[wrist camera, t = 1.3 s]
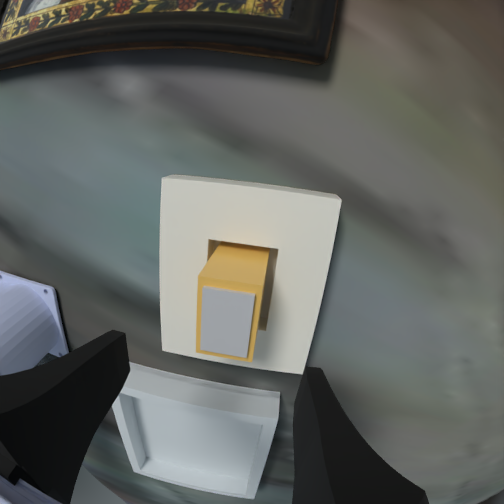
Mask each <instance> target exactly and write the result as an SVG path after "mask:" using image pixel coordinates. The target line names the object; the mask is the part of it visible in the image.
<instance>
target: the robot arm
mask: <svg viewBox="0 0 504 504" xmlns="http://www.w3.org/2000/svg"><path fill="white" fill-rule="evenodd" d="M47 353H50V354H53V355H55V356H57V357H59V358H57V359H55V360H53V361H50V362H48V363H45V364H43V365H40V366H37V367H35V366H36V365H37V364H38V363H39V362H40V361H41V359H42V358H43V357H44V356H45V355H46V354H47ZM129 373H130V363H129V357H128V350H127V343H126V335H125V333H123V332H119V331H115V330H111V331H109V332H107V333H105V334H103V335H101V336H100V337H98V338H96V339H94V340H92V341H90V342H89V343H87V344H85V345H83V346H81V347H79V348H77V349H76V350H74V351H72V352H70V353H69V351H68V347H67V343H66V339H65V335H64V330H63V326H62V321H61V317H60V312H59V307H58V302H57V296H56V291H55V289H54V288H53V287H51V286H48V285H45V284H41V283H38V282H34V281H31V280H28V279H25V278H21V277H18V276H15V275H12V274H9V273H6V272H3V271H0V504H70V502H71V498H72V494H73V490H74V486H75V482H76V479H77V476H78V473H79V470H80V467H81V465H82V462H83V460H84V457H85V454H86V452H87V449H88V447H89V445H90V443H91V441H92V438H93V436H94V434H95V432H96V430H97V428H98V427H99V425H100V423H101V422H102V420H103V419H104V417H105V415H106V414H107V412H108V411H109V409H110V408H111V406H112V404H113V403H114V401H115V400H116V398H117V397H118V395H119V393H120V392H121V390H122V388H123V386H124V384H125V382H126V380H127V377H128V375H129ZM293 440H294V466H295V478H294V490H293V500H292V504H429V502H428V498H427V496H426V493H425V491H424V490H423V489H421V488H420V487H418V486H417V485H415V484H414V483H412V482H410V481H409V480H407V479H406V478H405V477H403V476H402V475H401V474H399V473H398V472H397V471H396V470H394V469H393V468H392V467H391V466H390V465H388V464H387V463H386V462H385V461H384V460H383V459H382V458H381V457H380V456H379V455H378V454H377V453H376V452H375V451H374V450H373V449H372V448H371V447H370V446H369V445H368V443H367V442H366V441H365V440H364V439H363V437H362V436H361V435H360V434H359V432H358V431H357V430H356V428H355V427H354V426H353V424H352V423H351V421H350V420H349V418H348V417H347V415H346V414H345V412H344V410H343V409H342V407H341V405H340V404H339V402H338V400H337V398H336V397H335V395H334V393H333V391H332V389H331V387H330V385H329V383H328V381H327V379H326V377H325V375H324V372H323V370H322V369H321V368H316V367H306V366H305V368H304V372H303V375H302V379H301V382H300V386H299V389H298V393H297V396H296V399H295V404H294V417H293Z"/></svg>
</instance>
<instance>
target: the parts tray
mask: <svg viewBox="0 0 504 504" xmlns="http://www.w3.org/2000/svg"><path fill="white" fill-rule="evenodd" d="M129 363H130V373H129V375H128V377H127V380H126V382H125V384H124V386H123V388H122V390H121V392H120V393H119V395H118V397H117V398H116V400H115V401H114V403H113V404H112V407H113V411H114V414H115V418H116V421H117V424H118V428H119V431H120V434H121V437H122V440H123V443H124V446H125V449H126V452H127V455H128V457H129V460H130V463H131V465H132V468H133V471H134V472H136V473H139V474H142V475H145V476H149V477H152V478H155V479H159V480H162V481H166V482H169V483H173V484H177V485H181V486H185V487H189V488H193V489H198V490H202V491H207V492H212V493H217V494H223V495H229V496H235V497H241V498H249V499H254V497H255V494H256V491H257V488H258V485H259V482H260V479H261V476H262V473H263V469H264V466H265V463H266V460H267V456H268V453H269V450H270V446H271V443H272V439H273V436H274V432H275V429H276V425H277V422H278V417H279V403H280V392H275V391H268V390H261V389H254V388H247V387H241V386H235V385H229V384H223V383H218V382H213V381H207V380H202V379H198V378H193V377H188V376H184V375H179V374H175V373H171V372H166V371H162V370H158V369H154V368H150V367H147V366H143V365H139V364H135V363H132V362H129Z"/></svg>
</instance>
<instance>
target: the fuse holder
mask: <svg viewBox="0 0 504 504" xmlns="http://www.w3.org/2000/svg"><path fill="white" fill-rule="evenodd" d="M341 201H342V200H341V199H340V198H339V197H338V196H337V195H336V194H331V193H325V192H319V191H312V190H306V189H299V188H292V187H285V186H278V185H270V184H263V183H255V182H246V181H238V180H229V179H219V178H210V177H199V176H188V175H176V174H174V175H170V176H166V177H163V178H162V187H161V210H160V311H161V335H162V351H167V352H171V353H176V354H180V355H185V356H190V357H195V358H200V359H205V360H210V361H215V362H221V363H226V364H232V365H238V366H244V367H251V368H257V369H264V370H271V371H279V372H287V373H295V374H303V371H304V368H305V364H306V360H307V357H308V353H309V349H310V345H311V341H312V338H313V334H314V330H315V326H316V322H317V317H318V313H319V309H320V305H321V301H322V296H323V292H324V287H325V283H326V278H327V274H328V269H329V264H330V260H331V255H332V250H333V245H334V240H335V234H336V229H337V224H338V218H339V213H340V207H341ZM221 241H225V242H233V243H240V244H247V245H254V246H261V247H268V248H270V252H269V260H268V267H267V274H266V281H265V288H264V295H263V302H262V309H261V315H260V321H259V327H258V332H257V338H256V343H255V349H254V354H253V360H252V362H247V361H240V360H234V359H228V358H223V357H217V356H212V355H206V354H201V353H196V317H197V288H198V275H199V273H200V272H201V271H202V269H203V268H204V266H205V265H206V263H207V262H208V260H209V259H210V257H211V256H212V254H213V253H214V251H215V250H216V248H217V247H218V246H219V244H220V243H221Z"/></svg>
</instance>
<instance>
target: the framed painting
mask: <svg viewBox="0 0 504 504" xmlns="http://www.w3.org/2000/svg"><path fill="white" fill-rule="evenodd" d="M337 5H338V0H0V70H4V69H8V68H13V67H18V66H23V65H29V64H33V63H37V62H44V61H49V60H54V59H60V58H65V57H71V56H76V55H83V54H89V53H95V52H108V51H122V50H138V49H167V48H192V49H205V50H214V51H223V52H230V53H237V54H244V55H251V56H259V57H268V58H276V59H283V60H290V61H296V62H302V63H307V64H315V65H319V64H322V63H324V62H325V61H326V60H327V58H328V56H329V51H330V46H331V39H332V33H333V28H334V23H335V17H336V11H337Z"/></svg>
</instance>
